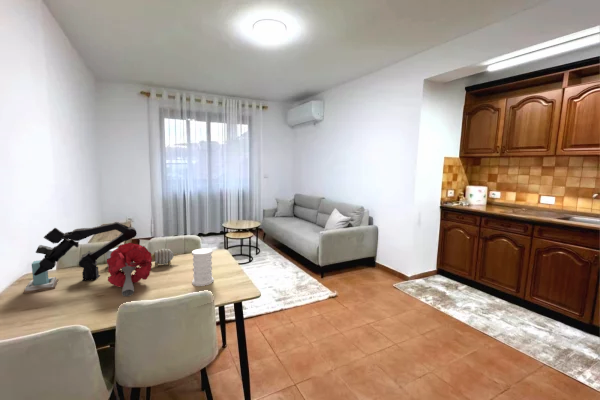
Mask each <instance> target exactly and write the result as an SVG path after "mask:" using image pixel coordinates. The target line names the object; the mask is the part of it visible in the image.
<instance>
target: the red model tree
mask: <svg viewBox="0 0 600 400" xmlns="http://www.w3.org/2000/svg"><path fill="white" fill-rule="evenodd" d="M151 254H152V252H150V251H149V250H148V249H147V248H146V246H144V245H140V244H138V243H133V242H128V243H123V244H122V243H121V244H119V245H118V248H117V249H115V250H114V251H112V253H111V255H110V256H111V258H108V259H107V258H106V263H107V264H108V265H109V266H108V268H107V269H108V270H107V271H108V273H109V276H108V277H107V281H108V283H110V285H112V286H115V287H118V288H122V289H121V295H122V296H123V297H130V296H133V294H134V293H135V287H134V283H139V281H141V280H143V281H144V280H147V279H148V277H149V276H150V274H151V271H152V266H153V265H152V264H153V262H152V257H151ZM134 271H135V272H134Z"/></svg>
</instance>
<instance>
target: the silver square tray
mask: <svg viewBox="0 0 600 400" xmlns="http://www.w3.org/2000/svg"><path fill="white" fill-rule="evenodd" d="M48 279H49V283H48V284H42V285H36V286H34V283H33V279H32V280H29V282H28V283H27V284H26V286H25V288H24V290H23V292H22V294H23V295H24V294H31V293H35V292H36V293H37V292H43V291H48V290H53V289H54V290H55V289H56V287H57V285H58V283H59V279H58V278H57V277H56V276H53V277H48ZM57 282H58V283H57Z"/></svg>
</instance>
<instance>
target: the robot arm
mask: <svg viewBox="0 0 600 400" xmlns="http://www.w3.org/2000/svg"><path fill="white" fill-rule="evenodd" d="M111 231H118V232H119V233H120V234H119V235H118V236H117V237H115V238H114V239H112V240H110V241H109V242H107V243H105V244H104V245H103V246H100V247H99V248H98V249H96V250H95V251H90V250H88V251H87V252H86V253H84V254H82V255H81V257H80V259H79V261H78V265H79V267H80V268H81V269H82V272H81V274H82V282H87V281H95V280H97V279H98V278H99V277H100V276H101V274H99V267H98V266H97V265H98V261H97V260H98V259H99V258H100V257H102V256H103V255H105V254H107V252H108V251H110V250H111V249H114V248H116V247H117V246H120V245H121V244H122V243H123V242H126V241H129V240H131V239H134V238H135V237H136V236H137V229H136V228H134V227H133V226H127V225H126V224H122V223H120V222H119V221H114V222H112V223H108V224H103V225H98V226H94V227H84V228H83V227H82V228H76V229H73V230H72V231H68V232H63V231H61V230H59V229H58V228H57V227H54V228H52V229H51V230H50V231H48V233H46V234H45V235H44V236H43V239H45V240H46V241H49V242H50V243H51V244H53V245H54V244H57V245H55V246H54V247H51V246H47V245H42V244H39V245H38V247H37V248H36V251H35V253H36V254H42V255H44V257H43V258H42V259H40V260H41V261H40V263H39V264H40V267H39V268H38V269H37V271H36V272H35V273H34V275H35V276H36V275H39V274H41V273H43V272H45V271H48V272H49V271H51V270H53V269H54V268H55V267H56V265H57V263H58V262H59V261H60V260H61V258H63V257H64V256H66V254H67V253H68V252H69V251H70V250H71V249H72V248H73V247H76V248H79V245H80V244H79V243H80V241H82V240H84V239H87V238H88V237H91V236H95V235H97V234H103V233H106V232H111Z"/></svg>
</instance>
